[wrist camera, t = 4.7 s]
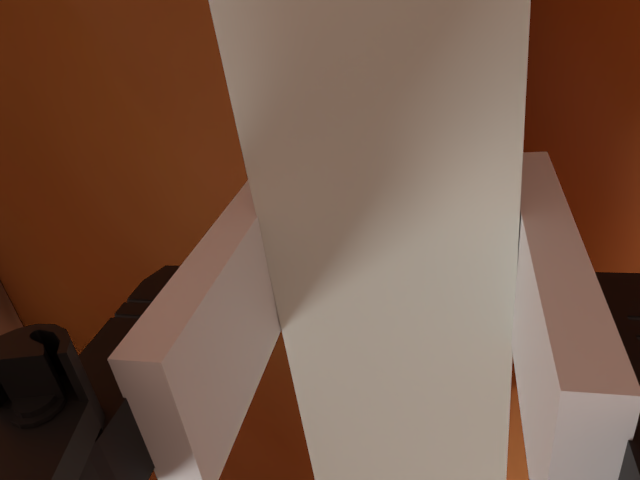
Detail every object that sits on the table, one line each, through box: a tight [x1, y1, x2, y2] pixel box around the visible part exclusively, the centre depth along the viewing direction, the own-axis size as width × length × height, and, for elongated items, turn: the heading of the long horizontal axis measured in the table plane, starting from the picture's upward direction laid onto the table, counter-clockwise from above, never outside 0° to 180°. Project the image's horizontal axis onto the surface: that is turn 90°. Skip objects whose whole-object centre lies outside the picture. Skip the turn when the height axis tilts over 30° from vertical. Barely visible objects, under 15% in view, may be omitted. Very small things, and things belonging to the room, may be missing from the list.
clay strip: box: [208, 0, 531, 480], centre depth 11 cm, size 16×4×4 cm, turn 8°
